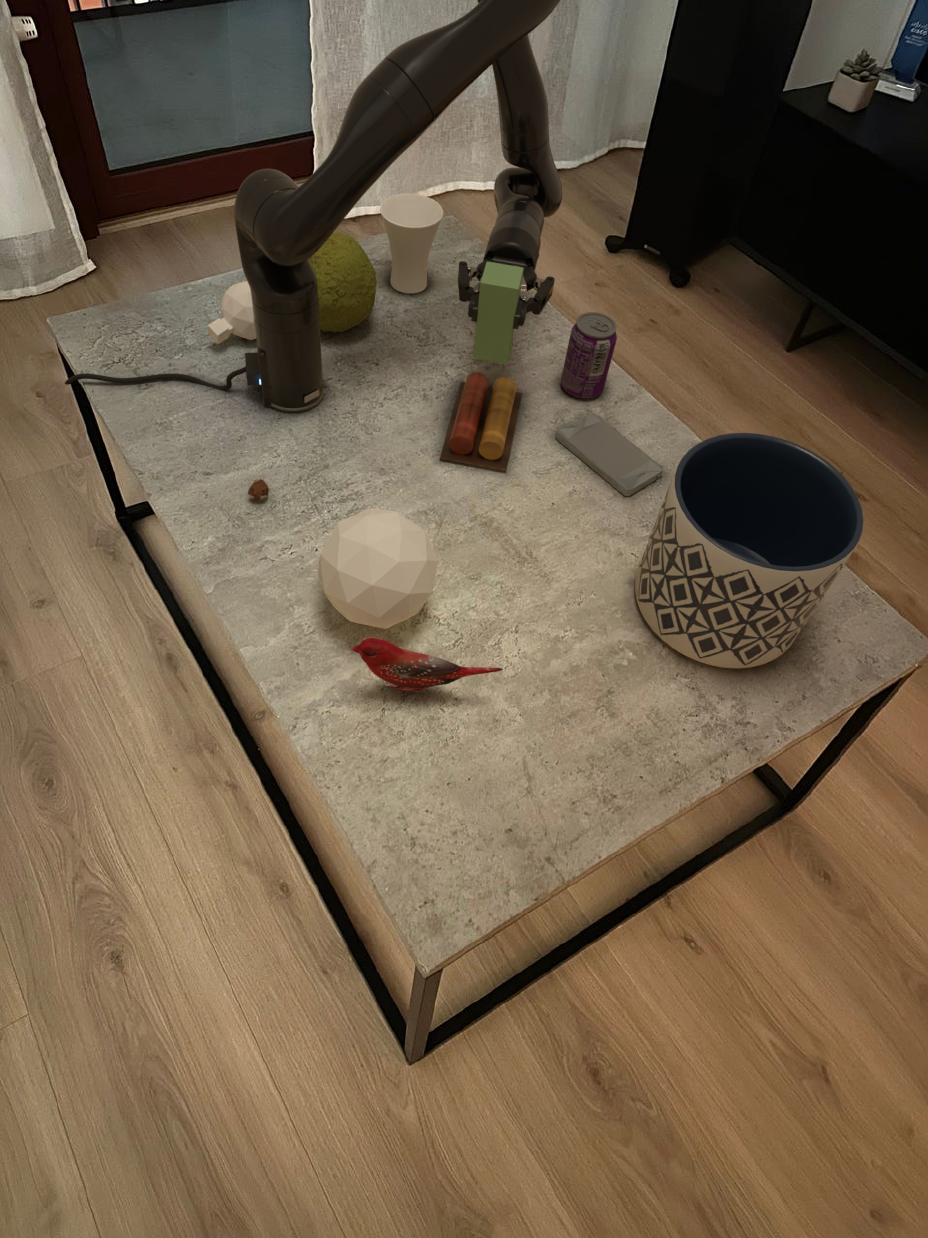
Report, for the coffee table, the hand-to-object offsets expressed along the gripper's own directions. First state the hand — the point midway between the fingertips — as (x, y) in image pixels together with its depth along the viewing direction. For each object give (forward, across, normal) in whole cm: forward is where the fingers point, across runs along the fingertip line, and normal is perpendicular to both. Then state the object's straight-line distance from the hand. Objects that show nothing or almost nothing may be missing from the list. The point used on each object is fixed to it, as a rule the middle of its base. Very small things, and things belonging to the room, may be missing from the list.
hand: (495, 319), depth 120 cm
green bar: (-3, 0, +7) cm, 7 cm away
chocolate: (+20, -28, +21) cm, 41 cm away
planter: (+24, +36, +21) cm, 48 cm away
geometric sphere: (+34, -8, +21) cm, 41 cm away
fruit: (-23, -29, +21) cm, 42 cm away
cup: (-36, -19, +21) cm, 46 cm away
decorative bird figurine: (+46, +1, +21) cm, 51 cm away
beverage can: (-16, +14, +21) cm, 30 cm away
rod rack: (-2, 0, +21) cm, 21 cm away
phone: (-1, +20, +21) cm, 29 cm away
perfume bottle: (-14, -42, +21) cm, 49 cm away
